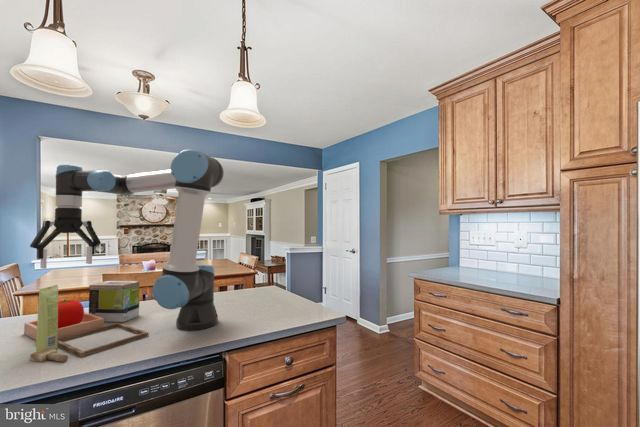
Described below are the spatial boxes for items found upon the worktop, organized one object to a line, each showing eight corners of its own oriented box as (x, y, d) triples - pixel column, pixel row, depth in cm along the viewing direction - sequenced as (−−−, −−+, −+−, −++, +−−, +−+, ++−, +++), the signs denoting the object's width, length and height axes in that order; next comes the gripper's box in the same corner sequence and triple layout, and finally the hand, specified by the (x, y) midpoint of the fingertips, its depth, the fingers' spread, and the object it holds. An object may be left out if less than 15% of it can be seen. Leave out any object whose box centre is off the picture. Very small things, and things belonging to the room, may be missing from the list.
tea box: (139, 315, 130) (140, 280, 130) (122, 323, 120) (123, 285, 120) (107, 314, 131) (108, 279, 132) (87, 321, 121) (88, 284, 122)
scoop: (72, 358, 88) (72, 352, 88) (57, 364, 84) (57, 358, 84) (46, 354, 91) (46, 348, 91) (30, 360, 87) (30, 353, 87)
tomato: (83, 321, 118) (83, 294, 119) (84, 330, 109) (85, 300, 109) (43, 328, 111) (44, 299, 111) (41, 338, 102) (42, 306, 102)
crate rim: (148, 335, 106) (148, 332, 106) (80, 357, 89) (80, 353, 89) (118, 325, 116) (118, 322, 116) (52, 343, 99) (52, 339, 99)
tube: (34, 350, 94) (36, 286, 94) (55, 345, 98) (57, 284, 98) (37, 355, 90) (39, 289, 91) (59, 350, 94) (61, 286, 95)
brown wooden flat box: (103, 328, 113) (103, 318, 113) (44, 344, 98) (45, 332, 98) (80, 320, 122) (81, 311, 122) (24, 333, 107) (24, 323, 108)
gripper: (101, 209, 124) (100, 261, 124) (18, 206, 103) (17, 269, 102) (111, 208, 121) (110, 262, 120) (27, 205, 99) (25, 271, 98)
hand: (67, 265), depth 111 cm, fingers open, 13 cm apart
